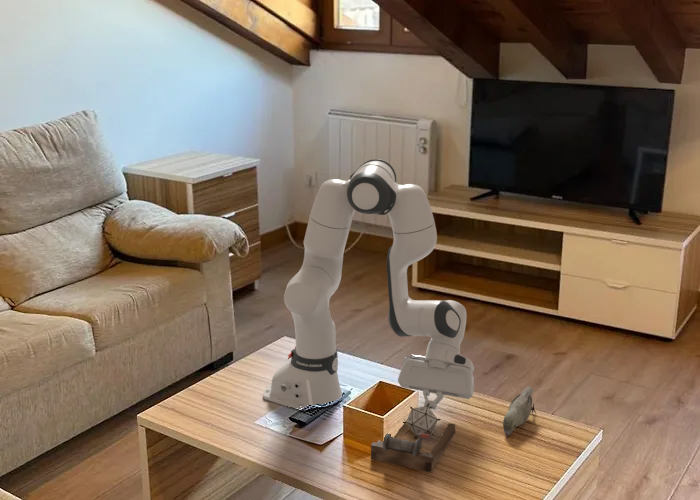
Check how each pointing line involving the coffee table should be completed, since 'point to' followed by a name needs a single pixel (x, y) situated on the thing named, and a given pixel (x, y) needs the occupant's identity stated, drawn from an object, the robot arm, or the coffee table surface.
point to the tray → (411, 450)
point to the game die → (421, 420)
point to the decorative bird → (518, 411)
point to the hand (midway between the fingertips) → (429, 408)
